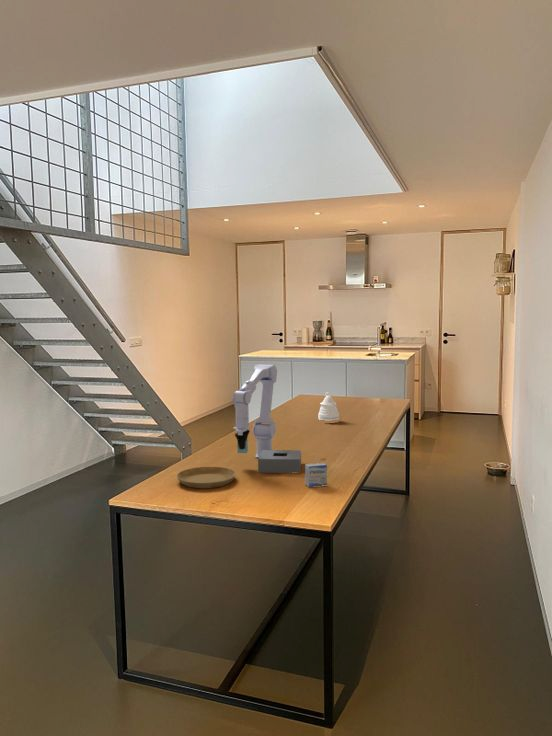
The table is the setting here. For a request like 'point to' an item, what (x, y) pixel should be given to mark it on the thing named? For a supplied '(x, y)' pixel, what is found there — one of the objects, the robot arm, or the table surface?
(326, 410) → the honey pot
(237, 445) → the teal rectangular block
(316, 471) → the medicine box
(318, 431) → the table surface
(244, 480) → the table surface
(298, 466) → the gray slotted box
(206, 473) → the plant saucer
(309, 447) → the table surface
